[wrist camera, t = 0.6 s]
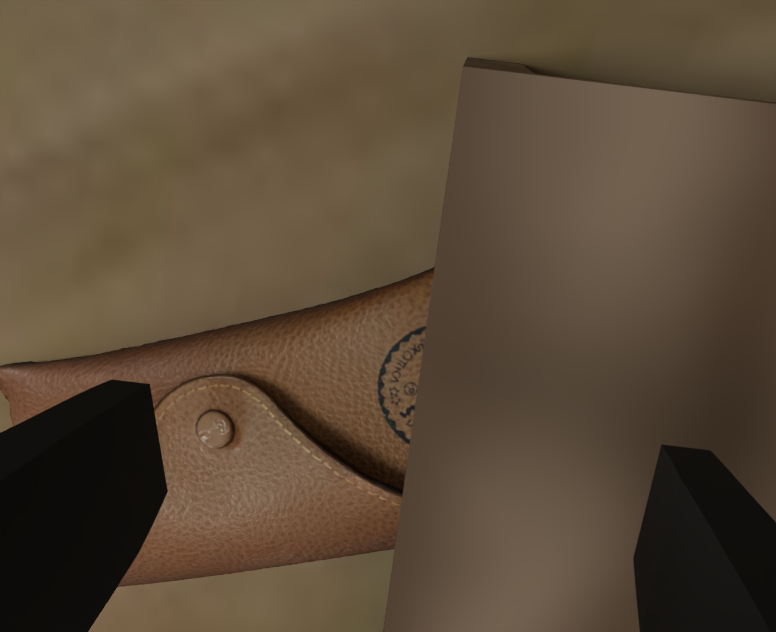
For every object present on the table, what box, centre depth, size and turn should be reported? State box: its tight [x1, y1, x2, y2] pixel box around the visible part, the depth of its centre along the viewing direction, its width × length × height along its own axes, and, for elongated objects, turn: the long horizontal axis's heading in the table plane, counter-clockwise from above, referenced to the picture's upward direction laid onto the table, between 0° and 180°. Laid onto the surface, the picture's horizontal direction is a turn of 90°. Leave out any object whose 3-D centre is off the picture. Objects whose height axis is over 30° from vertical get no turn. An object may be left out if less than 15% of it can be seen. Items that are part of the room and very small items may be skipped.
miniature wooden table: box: [383, 58, 776, 632], centre depth 20 cm, size 12×25×5 cm, turn 174°
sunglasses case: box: [0, 267, 435, 587], centre depth 22 cm, size 18×7×7 cm, turn 107°
